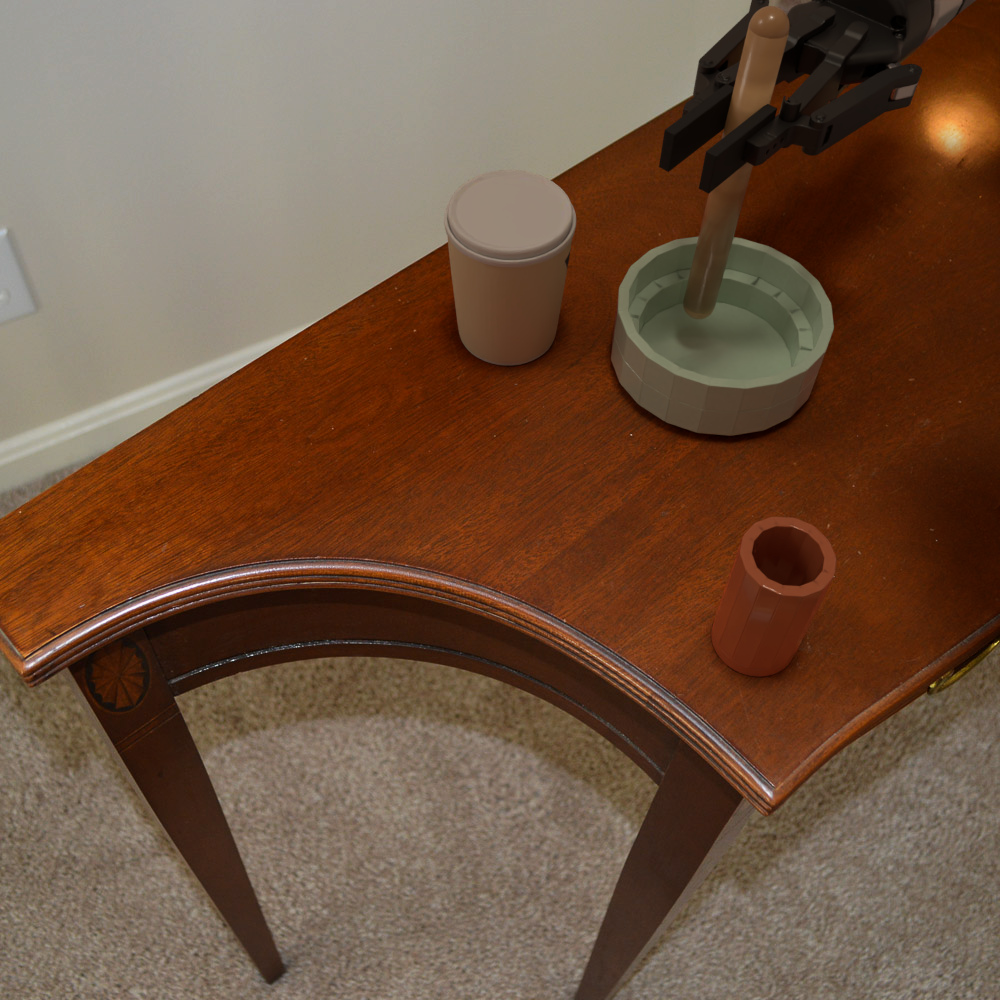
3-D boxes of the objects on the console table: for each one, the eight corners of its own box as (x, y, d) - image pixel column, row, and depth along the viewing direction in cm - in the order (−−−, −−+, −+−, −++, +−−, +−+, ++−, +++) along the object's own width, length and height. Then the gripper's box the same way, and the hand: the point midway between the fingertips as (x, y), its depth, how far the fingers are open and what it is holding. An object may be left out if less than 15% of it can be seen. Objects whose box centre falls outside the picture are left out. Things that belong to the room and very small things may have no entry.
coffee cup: (590, 342, 86) (603, 221, 76) (491, 392, 82) (492, 272, 73) (521, 273, 90) (526, 151, 80) (425, 318, 87) (418, 196, 77)
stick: (718, 315, 83) (802, 8, 64) (700, 330, 82) (780, 23, 63) (692, 299, 84) (767, -7, 65) (674, 315, 82) (745, 8, 64)
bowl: (851, 358, 85) (873, 302, 80) (737, 477, 78) (754, 423, 73) (688, 265, 91) (700, 208, 86) (569, 368, 84) (574, 311, 79)
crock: (811, 635, 71) (854, 551, 62) (764, 693, 68) (802, 614, 60) (742, 587, 73) (775, 500, 64) (693, 642, 70) (721, 558, 62)
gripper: (964, 99, 77) (779, 267, 66) (780, 16, 83) (584, 159, 72) (1006, -3, 71) (809, 165, 60) (803, -85, 77) (593, 56, 66)
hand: (687, 161), depth 66 cm, fingers closed on stick, 2 cm apart
